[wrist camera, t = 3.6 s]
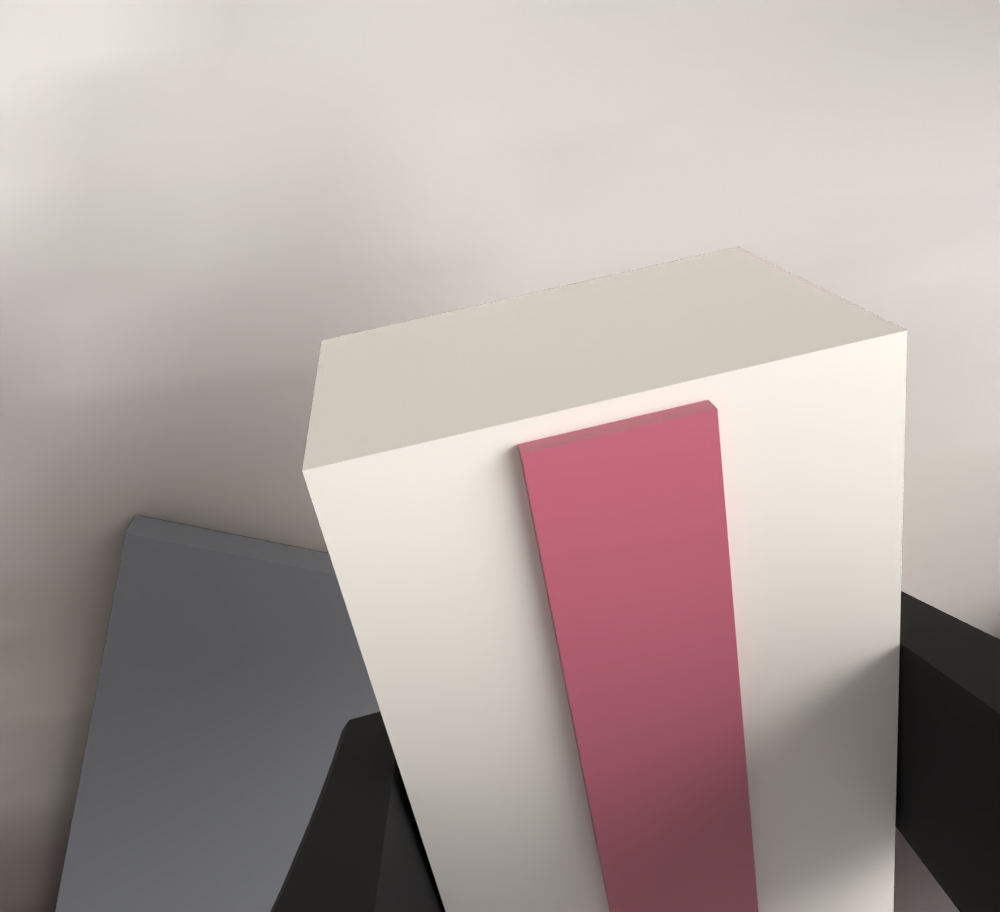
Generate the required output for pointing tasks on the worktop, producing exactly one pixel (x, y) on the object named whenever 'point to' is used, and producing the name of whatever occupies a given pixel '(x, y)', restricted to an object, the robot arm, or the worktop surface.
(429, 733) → the card deck
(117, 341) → the worktop surface
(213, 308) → the worktop surface
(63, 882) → the mat
